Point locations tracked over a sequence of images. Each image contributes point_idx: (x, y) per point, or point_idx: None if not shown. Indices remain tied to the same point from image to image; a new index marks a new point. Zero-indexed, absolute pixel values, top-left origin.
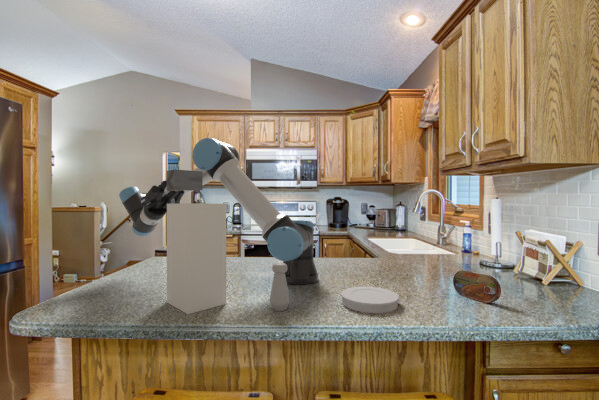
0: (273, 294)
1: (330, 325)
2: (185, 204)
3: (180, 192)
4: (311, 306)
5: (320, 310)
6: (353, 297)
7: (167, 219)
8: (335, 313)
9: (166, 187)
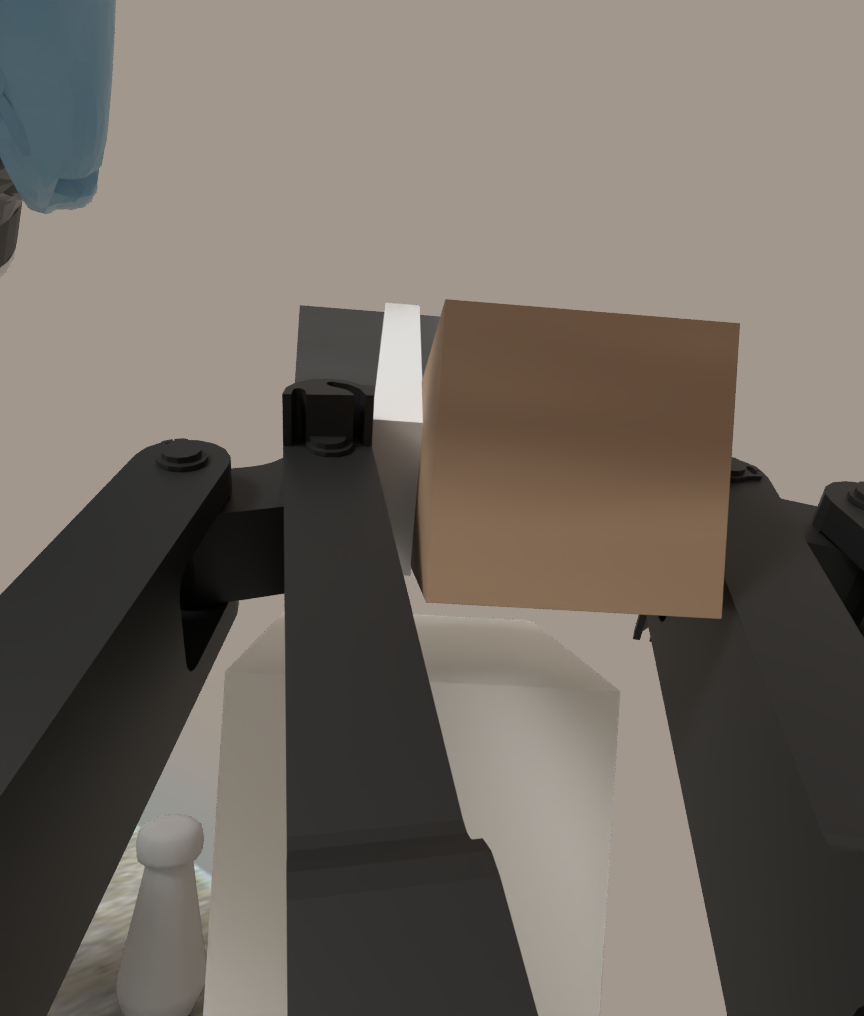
0: (201, 944)
1: (206, 880)
2: (536, 626)
3: (231, 602)
4: (70, 965)
5: (100, 933)
6: None
7: (605, 839)
8: (107, 902)
9: None
